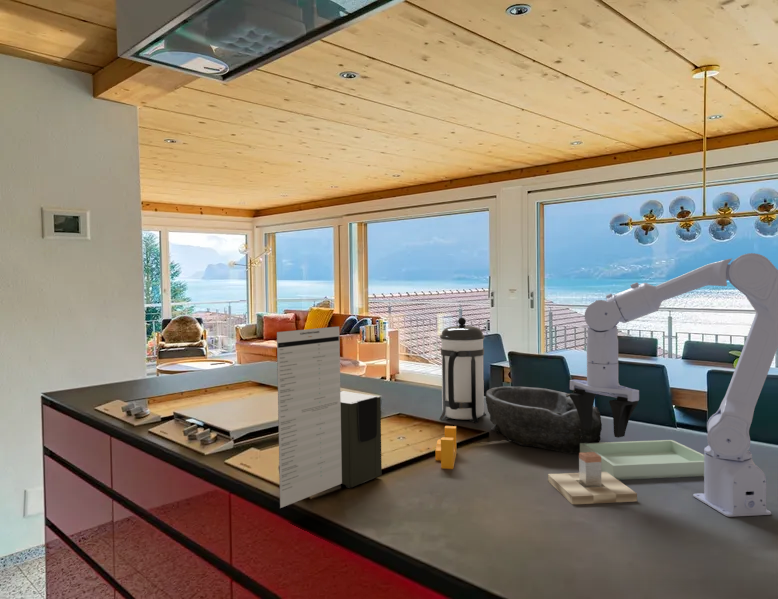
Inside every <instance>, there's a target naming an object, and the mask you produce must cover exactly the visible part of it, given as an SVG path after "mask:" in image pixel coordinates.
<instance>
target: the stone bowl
mask: <svg viewBox="0 0 778 599" xmlns="http://www.w3.org/2000/svg"><path fill="white" fill-rule="evenodd" d="M485 403H486V408H487V412H488V413H489V420H490V421H491V423H492V424H493V425H495V426H492V427H490V430H492V431H494V432H496V434H497V435H500V434H502V435H503V438H504V437H505V438H506V439H507V440H508V441H510V442H513V443H514V444H517V445H519V446H527V447H528V446H529V447H534V448H538V449H544V450H552V451H555V452H559V453H563V454H570V455H575V454H578V455H579V453H580V443H600V441H601V439H602V438H601V434H602V433H601V432H602V426H603V423H602V417H601V416H602V415H601V414H602V413H601V412H600V410H599V408H598V407H597V406H594V405H593V413H592V427H591V428H587V429H583V428H582V426H581V422H580V418H579V415H578V412H577V409H576V407H575V405H574V403H573V401H572V399H571V398H570V393H567V392H564V391H563V392H562V391H558V390H554V389H548V388H543V387H529V386H506V385H505V386H499V387H492V388H490V389H488V390H486V391H485Z"/></svg>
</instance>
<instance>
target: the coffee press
mask: <svg viewBox="0 0 778 599" xmlns="http://www.w3.org/2000/svg"><path fill="white" fill-rule="evenodd" d="M457 322H458V326H457V325H454V326H449V327H446V328H444V329H443V330H442V332H441V334H440V335H439V339H440V340H441V342H440V343H441V348H440V355H441V399H442V400H441V404H442V405H441V407H442V409H441V410H442V413H441V415H440V417H439V420H440V421H443V418H444V417H445V418H444V420H447V421H448V420H449V419H452V420H453V419H455V420H468V421H469V422H471V423H472V422H473V424H479V420H478V418H481V417H482V416H487V413H485V411H484V410H485V408H484V407H485V404H484V403H485V400H484V399H485V398H484V397H485V393H484V391H485V388H484V385H485V384H484V383H485V382H484V381H485V380H484V355H485V348H484V339H485V335H484V333H483V331H482V330H481V329H480V328H479V327H477V326H473V325H471V326H469V325H465V324H466V322H467V321H466V318H464V317H460V318H458V320H457Z"/></svg>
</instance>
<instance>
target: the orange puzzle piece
mask: <svg viewBox="0 0 778 599" xmlns="http://www.w3.org/2000/svg"><path fill="white" fill-rule="evenodd" d="M457 444H458V443H457V425H454V426H453V425H445V426H444V436H443V437H441V438H440V439H437V441H436V446H435V453H434V455H435V458H434V459H435V461H440V469H445V470H446V469H447V470H453V469H454V466H455V462H456V458H457V451H458V450H457Z"/></svg>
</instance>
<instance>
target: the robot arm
mask: <svg viewBox="0 0 778 599" xmlns="http://www.w3.org/2000/svg"><path fill="white" fill-rule="evenodd" d="M727 281H729V282H727ZM728 283H730V284H731V285H732V286H733V287H735V289H737V290H738V291H739V292H740V293H742V294H743V295H744V296H745V297H746V299H747V300H748V302H749V304H750V305H751V307H752V308H753V309H754V311H755V315H754V318H753V319H752V320H753V321H752V323H751V324H750V325H751V326H750V328H749V331H748V333H747V336H746V339H745V342H744V344H743V347H742V350H741V353H740V355H739V358H738V360H737V363H736V366H735V368H734V371H733V373H732V377H731V380H730V383H729V384H728V387H727V390H726V392H725V395H724V397H723V399H722V400H721V403H720V405H719V408H718V409H717V411H716V412H715V413H713V414H712V415H710V417H709V419H707V420H708V421H707V422H706V430H707V434H706V440H707V444H708V445H707V446H706V447H705V446H704V449H703V451H704V452H703V454H704V476H703V478H704V480H703V486H704V487H703V490H704V491H703V492H704V493H702V492H700V493H698V492H697V493H693V496H692V497H694V498H696V500H698V501H700V502H702V503H704V504H706V505H707V506H709V507H710V508H712V509H714V510H715V511H717V512H719V513H720V514H721V515H724V516H726V517H731V518H732V517H734V518H735V517H751V516H752V517H753V516H769V515H772V512H771V511H770V510H768V509H767V477H766V474H765V472H764V471H763V470H762V468H760V467H759V466H758V465H757V464H755V462H754V460H753V454H752V451H750V450H749V449H750V447H751V437H750V428H751V424H752V422H753V418H754V413H755V412H754V411H755V408H756V405H757V403H758V399H759V397H760V394H761V392H762V389H763V387H764V384H765V382H766V379H767V376H768V374H769V371H770V368H771V366H772V363H773V361H774V359H775V356H776V353H777V351H778V268H777V267H776V266H775V265H774V264H773V263H772V261H771V260H770V259H769V258H768V257H766V256H764V255H762V254H759V253H753V252H751V253H745V254H742V255H739V256H737V257H736V258H735V259H733V258H728V259H723V260H720V261H715V262H711V263H708V264H705V265H703V266H700V267H698V268H695V269H693V270H690V271H688V272H686V273H684V274H682V275H679V276H677V277H674V278H671V279H668V280H667V281H665V282H662V283H660V284H657V285H653V284H650V283H647V282H642V283H640V284H639V282H634V283H631V284H630V287H629V288H628V289H626V290H622V291H620V292H618V293H615V294H612V293H609V294H606V295H605V298H606V300H603V299H597V300H595V301H593V302H592V303H590V304H589V305H588V306H587V307H586V309H585V311H584V320H585V323H586V325H587V329H586V331H587V338H586V380H583V379H570V380H569V390H571V391H573V392H570V393H569V394H570V398H571V399H572V401H573V403H574V405H575V407H576V409H577V412H578V415H579V418H580V422H581V426H582V428H583V429H587V428H591V427H592V413H593V406H594V403H595V399H596V395H601V396H605V397H606V396H607V397H609V398H610V397H611V398H615V399H611V400H608V404H609V406H610V409H611V413H612V419H613V422H612V423H613V436H614V437H615V438H618V439H619V438H622V437H625V436H626V432H627V427H628V425H629V422H630V418H631V416H632V414H633V412H634V410H635V409H636V407H637V406H638V403H639V400H640V390H639V389H635V388H631V387H627V386H625V385H620V383H619V337H618V326H617V325H618V324H619V323H623V324H626V323H629V322H632V321H634V320H637V319H639V318H642V317H645V316H648V315H649V314H650V315H651V314H654V313H656V312H658V311H659V309H660V307H661V305H662V302H664V301H666V300H670V299H672V298H675V297H678V296H681V295H683V294H686V293H690V292H692V291H695V290H698V289H701V288H703V287H708V286H715V287H716V286H717V287H727V286H728Z"/></svg>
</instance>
